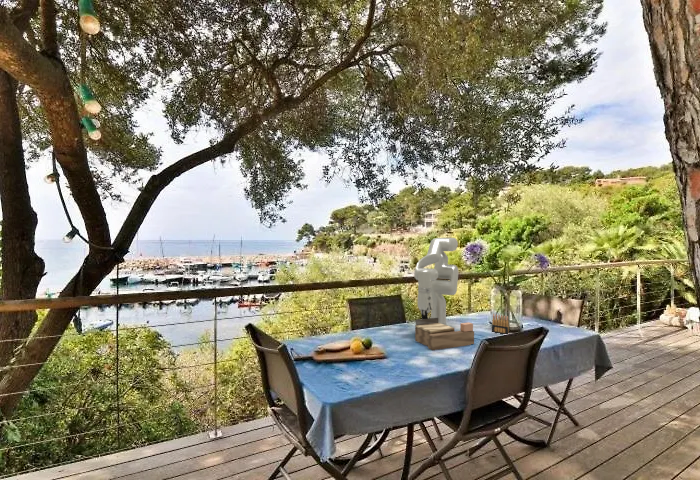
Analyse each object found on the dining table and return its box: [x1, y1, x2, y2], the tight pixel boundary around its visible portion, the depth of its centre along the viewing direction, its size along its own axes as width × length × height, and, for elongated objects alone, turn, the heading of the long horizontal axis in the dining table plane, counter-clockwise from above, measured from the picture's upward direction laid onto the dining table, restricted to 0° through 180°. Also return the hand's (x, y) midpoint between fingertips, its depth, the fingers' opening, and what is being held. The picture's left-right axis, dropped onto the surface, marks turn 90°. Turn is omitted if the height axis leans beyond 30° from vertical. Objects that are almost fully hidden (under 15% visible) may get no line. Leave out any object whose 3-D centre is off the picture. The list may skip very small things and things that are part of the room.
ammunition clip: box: [491, 313, 510, 336], centre depth 271 cm, size 11×2×12 cm, turn 45°
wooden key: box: [459, 322, 474, 332], centre depth 247 cm, size 4×6×4 cm, turn 114°
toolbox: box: [414, 326, 475, 351], centre depth 250 cm, size 21×28×8 cm
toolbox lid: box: [414, 317, 456, 333], centre depth 251 cm, size 16×16×4 cm
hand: (424, 321), depth 260 cm, fingers closed
